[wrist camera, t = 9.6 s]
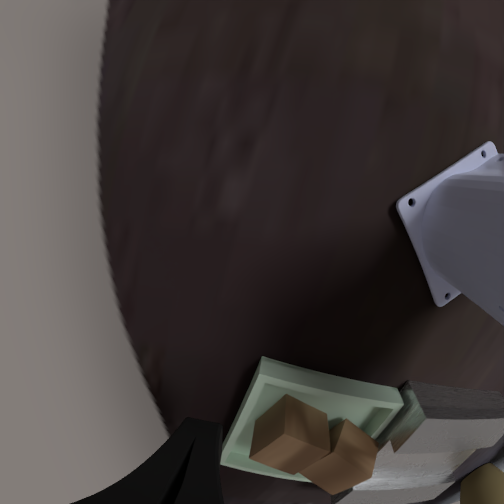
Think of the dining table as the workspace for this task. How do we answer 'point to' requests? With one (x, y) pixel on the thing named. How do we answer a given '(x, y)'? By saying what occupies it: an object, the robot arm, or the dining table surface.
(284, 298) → the dining table surface
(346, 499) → the slot block
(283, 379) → the tray
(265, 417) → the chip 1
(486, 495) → the squeeze bottle
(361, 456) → the chip
